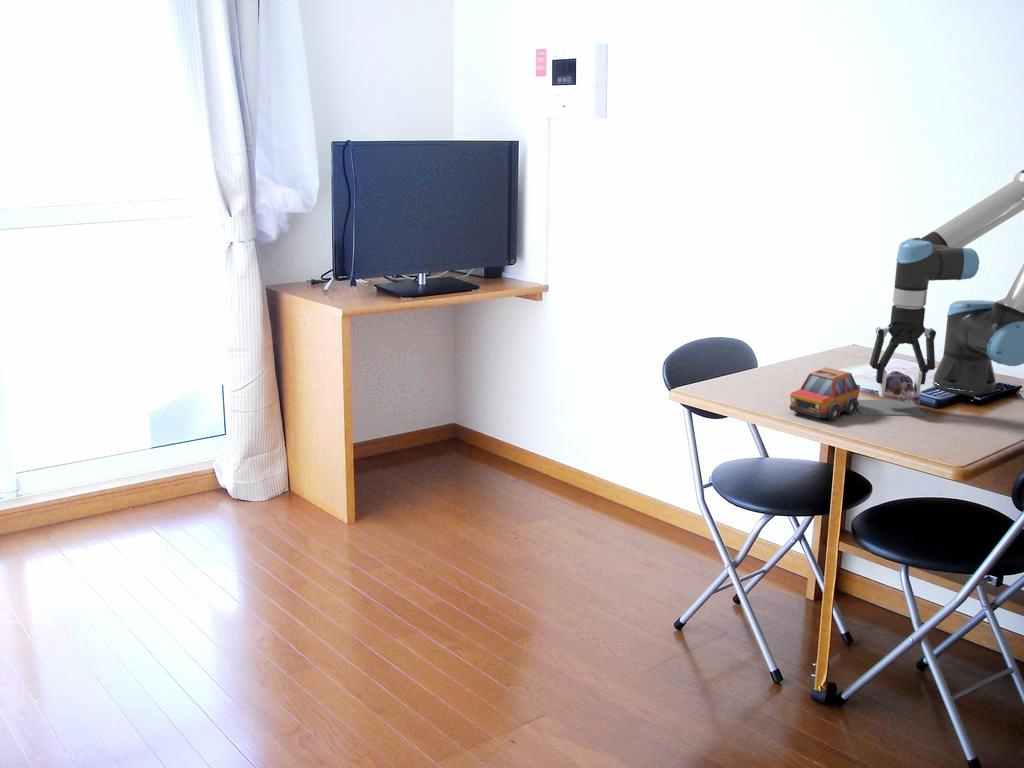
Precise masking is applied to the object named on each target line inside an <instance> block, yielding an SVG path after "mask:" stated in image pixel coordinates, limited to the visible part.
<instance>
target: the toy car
mask: <svg viewBox="0 0 1024 768" xmlns="http://www.w3.org/2000/svg"><path fill="white" fill-rule="evenodd" d="M860 388H861V385H860V384H857V383H856V380H855V378H854V376H853V374H852V372H848V371H843V370H840V369H835V368H830V367H828V366H827V367H823V368H820V369H817V370H813V371H811V372H809V374H808V375H807V377H805V380H804V382H803V383H802V385H801V386H800V388H799V389H798V390H794V391H792V392H791V393H790V395H789V396H790V404H789V409H790V410H791V411H794V412H799V413H801V414H806V415H809V416H813V417H817V418H823V419H824V418H825V419H827V418H828V421H831V422H835V421H837V420H838V419H839V417H840V415H841V413H842V412H845V414H846V415H849V416H850V415H854V413H855V412H856V410H857V408H856V407H858V405H859V402H858V401H857V400H859V394H860V392H861V390H860Z"/></svg>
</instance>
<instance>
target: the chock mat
mask: <svg viewBox="0 0 1024 768" xmlns="http://www.w3.org/2000/svg"><path fill="white" fill-rule="evenodd" d="M857 401H858V402H859V405H858V407H856V410H857V411H858V413H860V415H861V416H889V417H890V416H892V417H893V416H895V417H897V416H898V417H926V413H924V412H923V411H922V410H921V409H920V407H918V406H919V405H918V404H917V403H915V402H912V401H911V400H910V401H909V404H908V402H907V400H905V403H904V402H901V401H898V400H896V399H894V400H893V399H857Z"/></svg>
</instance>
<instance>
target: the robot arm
mask: <svg viewBox="0 0 1024 768" xmlns="http://www.w3.org/2000/svg"><path fill="white" fill-rule="evenodd" d="M1022 211H1024V169H1022V170H1021V171H1019V172H1018V173H1016V174H1015V175H1014V177H1013V180H1012V181H1010V182H1009V183H1008V184H1006V185H1004V186H1003V187H1001V188H1000V189H998V190H996V191H994V192H993V193H992V194H990V195H988V196H987V197H985V198H984V199H982V200H980V201H979V202H977V203H976V204H974V205H973V206H971V207H969V208H967V209H966V210H964V211H963V212H961V213H960V214H958V215H956V216H955V217H954V218H951V219H949V221H947V222H946V223H944V224H942V225H941V226H939V227H937V228H936V229H934V230H932V231H931V232H929V233H928V234H926V235H924V236H922V237H921V238H920V237H911V238H908V239H905V240H902V242H900V244H899V246H898V250H897V257H896V267H895V276H894V277H895V278H894V287H893V297H892V304H893V305H892V306H891V312H890V313H891V314H890V315H891V316H890V322H889V325H888V326H887V327H882V328H881V326H880V327H879V326H878V327H876V328H875V331H876V334H875V335H876V337H875V338H876V339H875V342H874V346H873V350H872V353H871V357H870V360H869V366H870V367H871V368H872V369H874V370H876V376H875V381H876V383H877V384H878V385H879V387H878V395H879V397H880V398H885V394H886V393H885V387H886V378H887V375H888V372H887V370H886V367H887V366H888V364H889V362H890V360H891V358H892V356H893V354H894V352H895V351H896V349H897V348H898V347H899V346H900V345H904V344H907V345H911V347H912V350H913V352H914V355H915V359H916V362H917V365H918V367H919V369H915V374H914V381H913V387H914V389H915V392H916V394H918V395H919V396H920V394H921V388H922V386H921V385H925V384H926V379H927V373H929V371H934V370H935V368H936V359H935V356H936V355H935V354H936V353H935V338H936V336H937V331H936V330H935V329H933V328H931V327H930V328H926V327H925V326H924V325H925V324H924V322H925V317H926V316H925V314H926V308H925V306H926V304H927V296H928V288H929V283H930V282H931V281H932V282H934V281H961V280H970V279H972V278H974V277H976V275H977V273H978V271H979V266H980V257H979V255H978V253H977V251H976V250H975V249H973V248H971V247H966V246H968V245H969V244H971V243H972V242H974V241H975V240H977V239H979V238H981V237H983V235H985V234H987V233H989V232H990V231H992V230H993V229H995V228H997V227H998V226H1000V225H1001V224H1003V223H1005V222H1006V221H1008V220H1009V219H1011V218H1013V217H1015V216H1017V214H1020V213H1021V212H1022ZM946 317H947V319H946V329H945V337H944V347H943V348H944V349H943V354H942V355H943V356H942V358H941V360H940V361H939V364H938V366H937V368H936V370H935V373H934V375H933V381H932V384H933V386H934V387H936V388H937V389H939V390H940V391H941V390H942V391H946V392H948V393H954V394H961V395H972V396H973V395H975V396H976V395H987V394H991V393H994V392H995V390H996V384H997V380H996V376H995V372H994V367H993V363H992V362H995V363H997V364H999V365H1003V366H1008V367H1018V366H1021V365H1023V364H1024V263H1023V265H1022V267H1021V268H1020V270H1019V272H1018V274H1017V275H1016V278H1015V279H1014V281H1013V283H1012V285H1011V287H1010V289H1009V290H1008V293H1007V295H1006V296H1005V297H1004V298H1002V299H1000V300H996V301H992V300H982V299H981V300H980V299H979V300H978V299H973V300H972V299H968V300H956V301H953V302H952V303H950V305H949V307H948V311H947V314H946ZM888 333H889V334H890V336H891V337H890V339H889V343H888V345H887V347H886V349H885V350H884V352H883V353H882V356H881V352H882V349H883V345H884V343H885V338H886V337H887V334H888ZM923 334H924V337H925V346H926V347H925V348H926V349H925V350H926V360H925V358H924V355H923V352H922V349H921V345H920V342H919V338H921V336H922V335H923ZM880 356H881V358H880ZM925 361H926V362H925ZM934 382H935V383H937V384H939V385H940V386H939V385H937V384H935V383H934ZM945 387H946V388H945ZM948 388H953V389H960V390H966V391H959V390H953V389H948ZM969 391H973V392H969Z"/></svg>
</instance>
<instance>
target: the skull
mask: <svg viewBox="0 0 1024 768" xmlns="http://www.w3.org/2000/svg"><path fill="white" fill-rule="evenodd" d="M886 393H887V394H889V395H890V396H892V397H893V398H894V399H895V400H898V401H901V402H904V403H905V400H907V402H908V404H909V401H910V400H911V401H912V402H914V403H915V404H917V406H919V405H920V402H921V397H920V396H919V395H918V394H916V392H915V389H914V381H913V379H912V377H910V376H909V375H907V374H905V373H902V372H900V371H898V370H893V371H891V372H889V373H887V378H886V387H885V394H886Z"/></svg>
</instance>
